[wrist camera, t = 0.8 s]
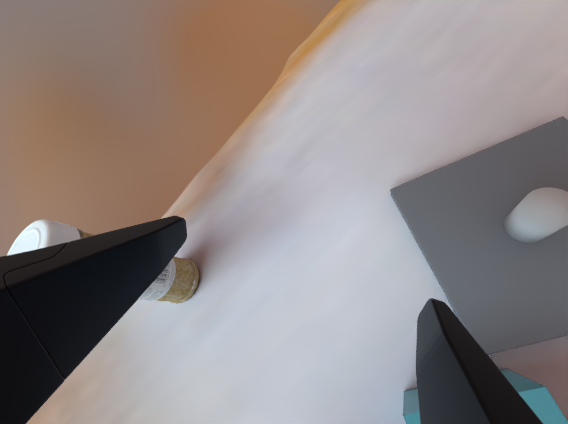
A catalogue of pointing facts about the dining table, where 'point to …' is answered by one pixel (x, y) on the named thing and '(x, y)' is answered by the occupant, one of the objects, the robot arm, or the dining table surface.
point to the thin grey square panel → (499, 236)
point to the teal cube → (527, 389)
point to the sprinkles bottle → (43, 233)
